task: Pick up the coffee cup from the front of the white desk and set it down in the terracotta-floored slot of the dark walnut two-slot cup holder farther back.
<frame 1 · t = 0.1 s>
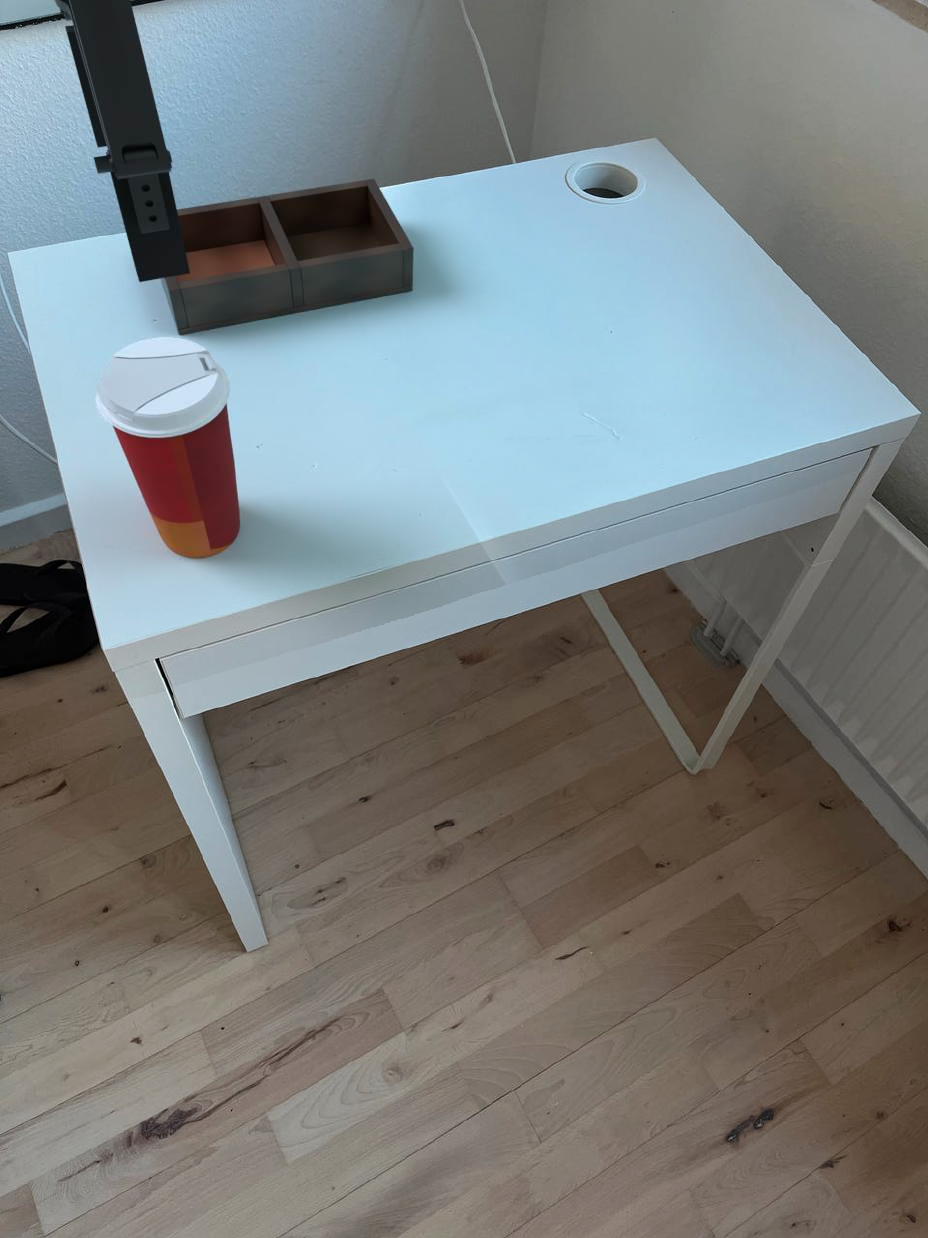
hand: (140, 203, 54), 24 cm above the table, tool pointing down, fingers open, 13 cm apart
cup holder: (283, 274, 89), on the table
coffee cup: (200, 529, 71), on the table
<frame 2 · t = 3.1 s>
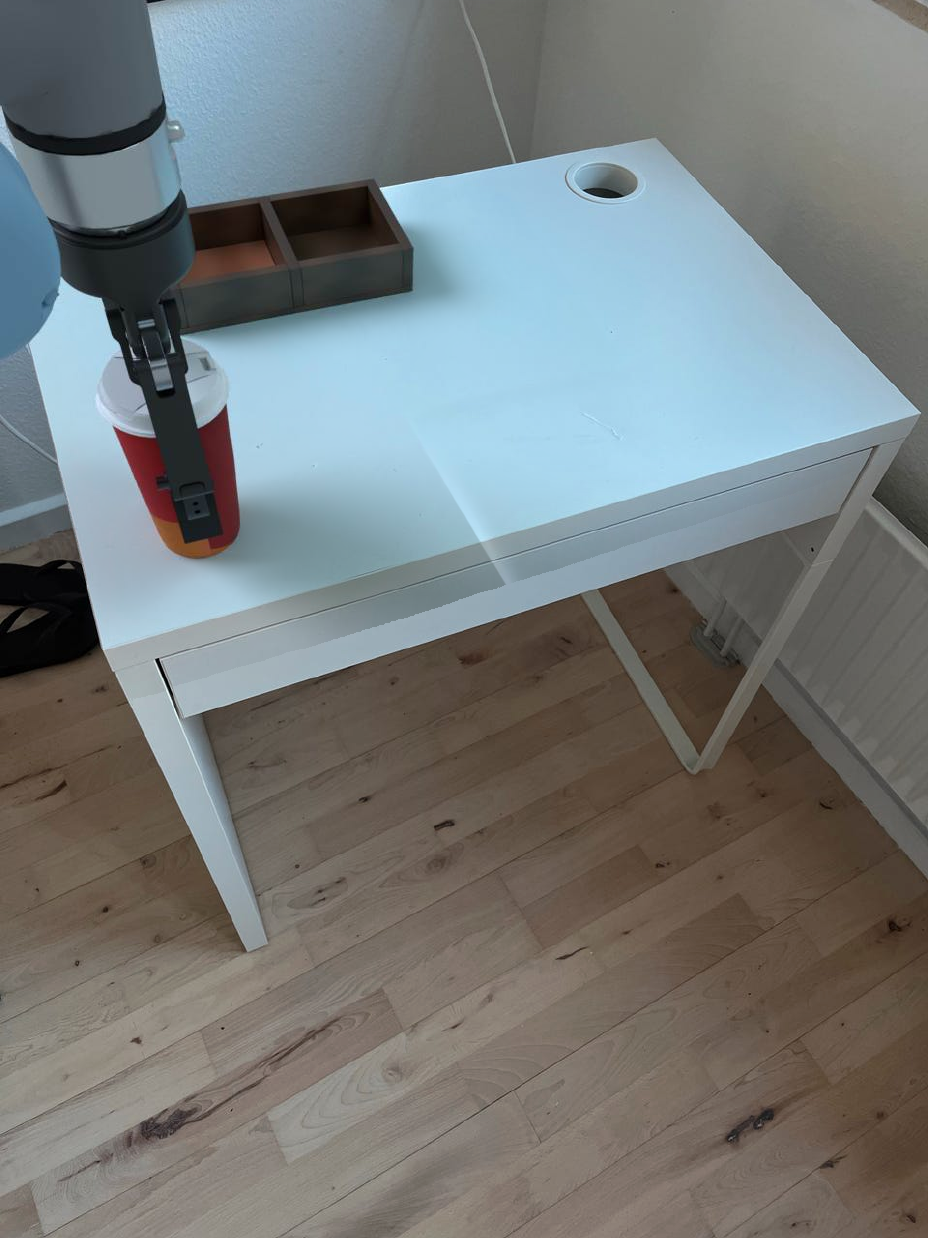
hand: (189, 489, 68), 4 cm above the table, tool pointing down, fingers closed on coffee cup, 8 cm apart
coffee cup: (200, 529, 71), on the table, touching gripper
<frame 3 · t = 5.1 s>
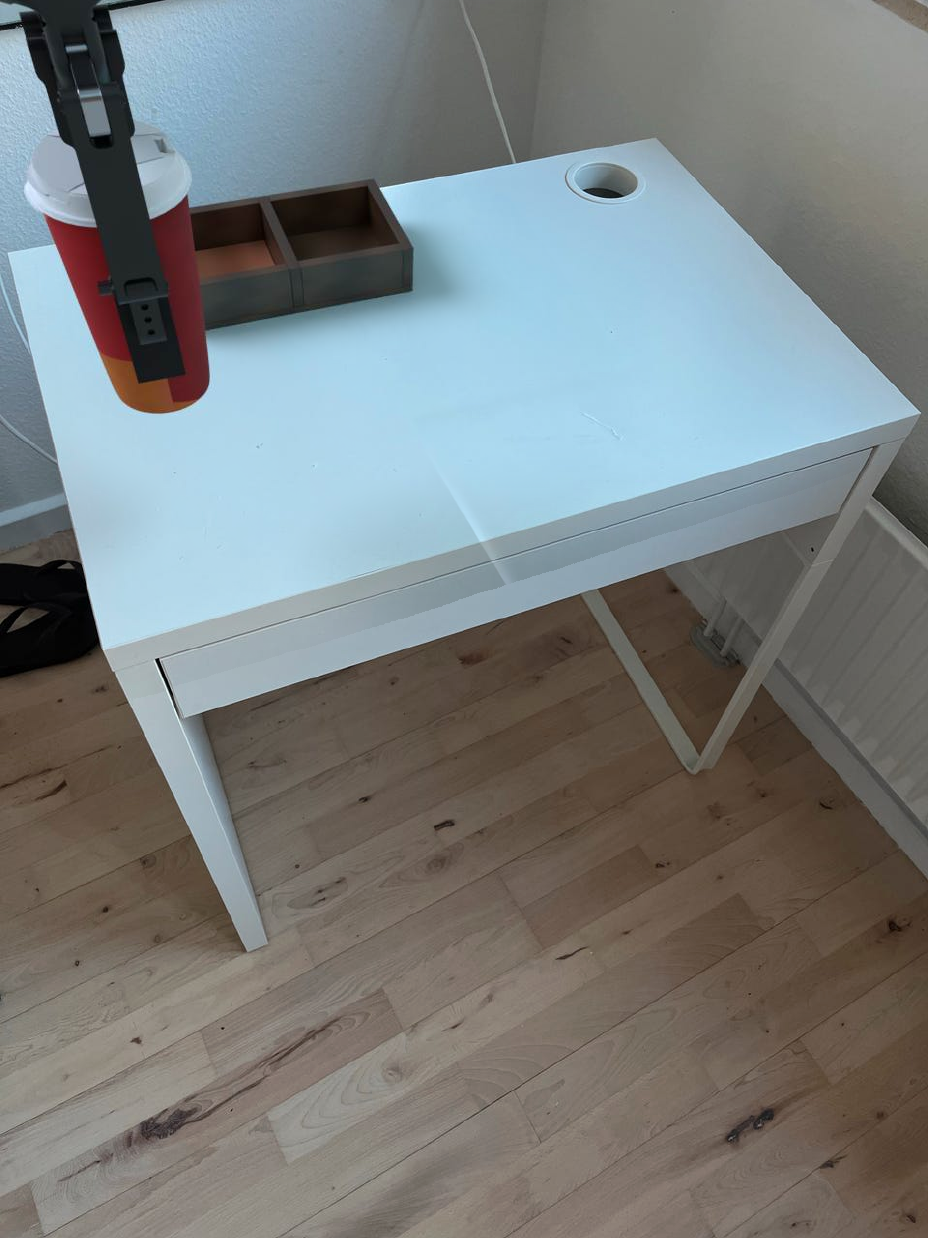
hand: (147, 326, 56), 18 cm above the table, tool pointing down, fingers closed on coffee cup, 8 cm apart
coffee cup: (162, 384, 60), point 14 cm above the table, touching gripper
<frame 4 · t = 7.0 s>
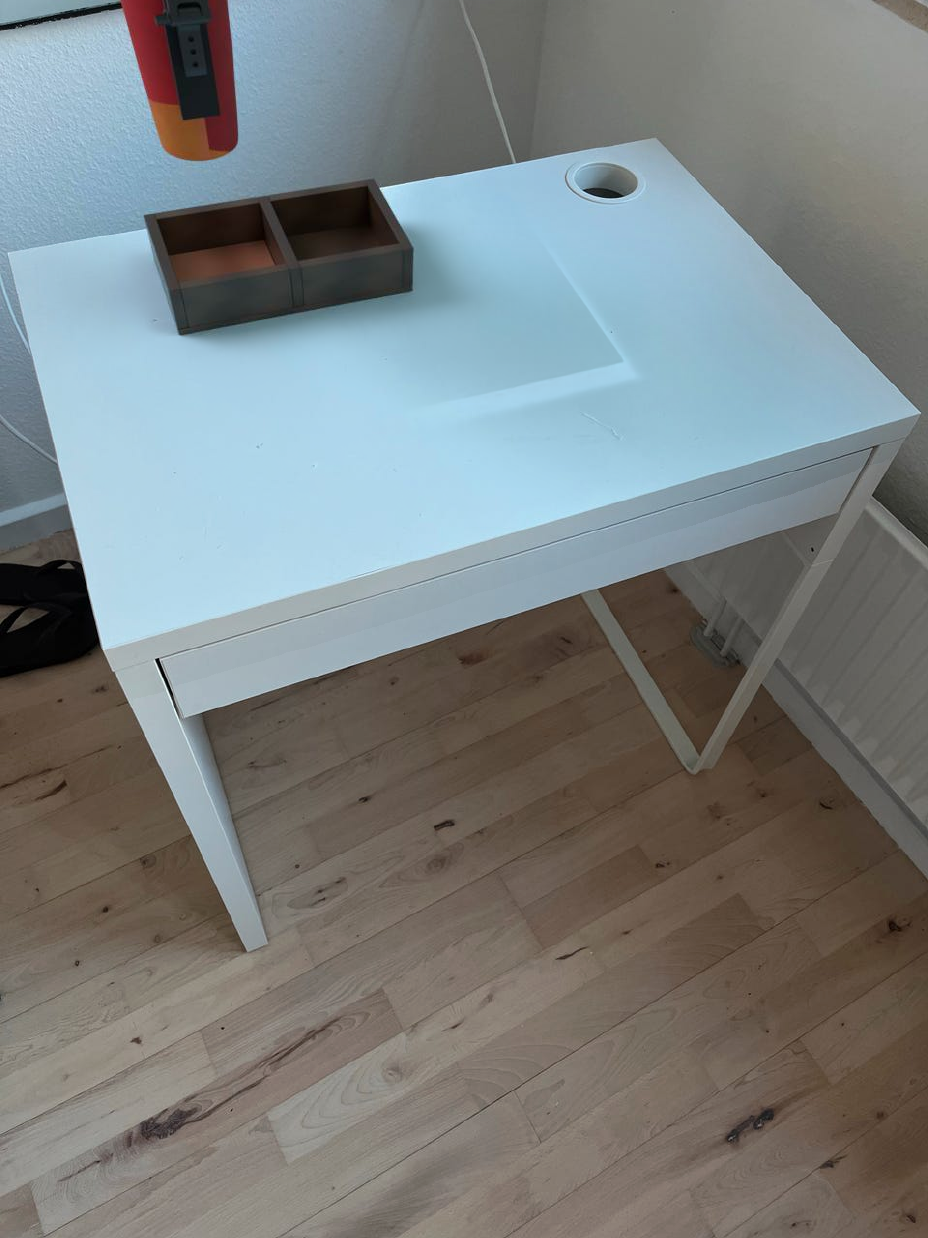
hand: (188, 83, 70), 20 cm above the table, tool pointing down, fingers closed on coffee cup, 8 cm apart
coffee cup: (199, 142, 73), point 15 cm above the table, touching gripper
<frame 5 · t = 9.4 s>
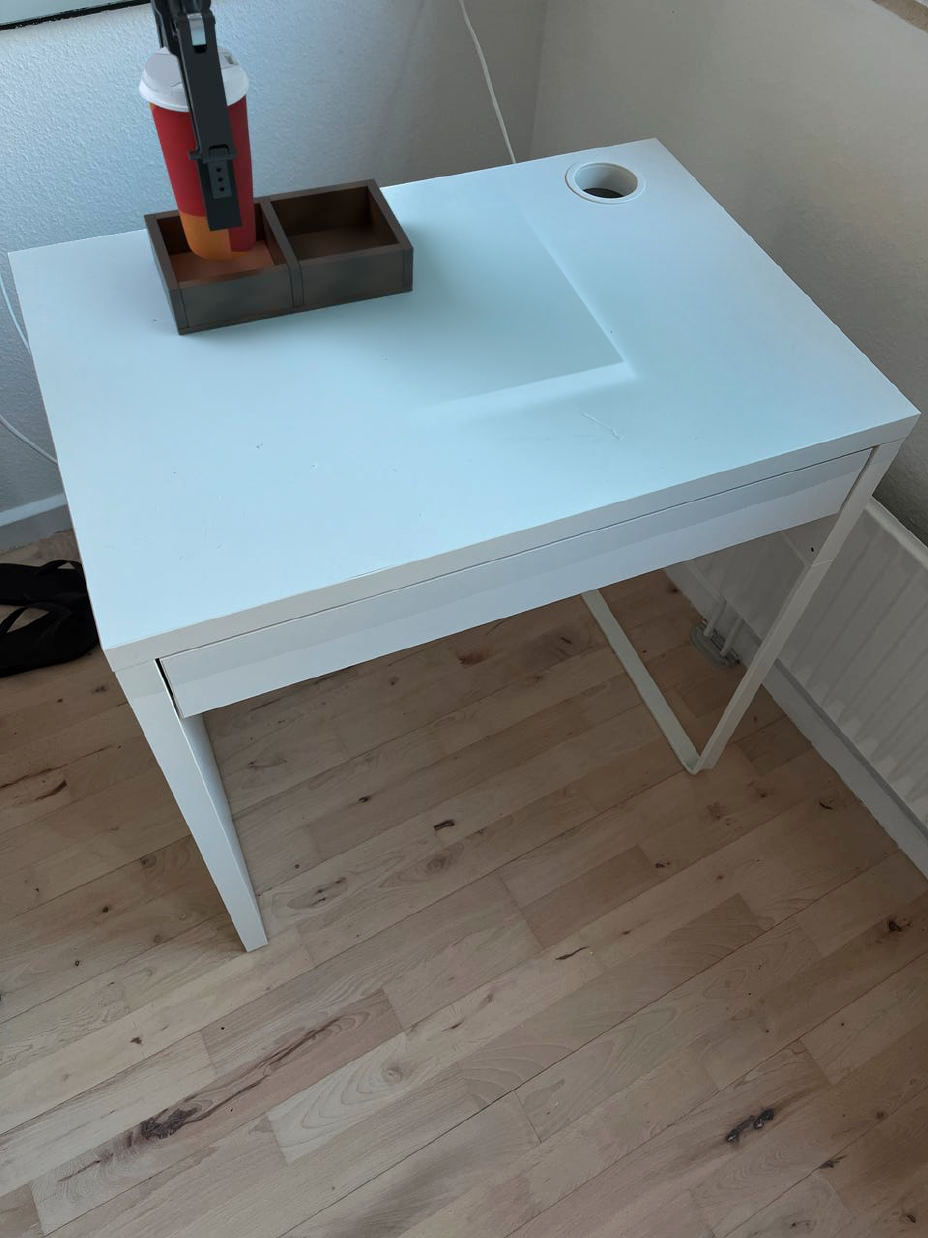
hand: (213, 196, 80), 9 cm above the table, tool pointing down, fingers closed on coffee cup, 8 cm apart
coffee cup: (221, 242, 84), point 4 cm above the table, touching gripper
when the fingers open (5 cm above the table, at t = 10.9 s): coffee cup stays where it is, resting on cup holder.
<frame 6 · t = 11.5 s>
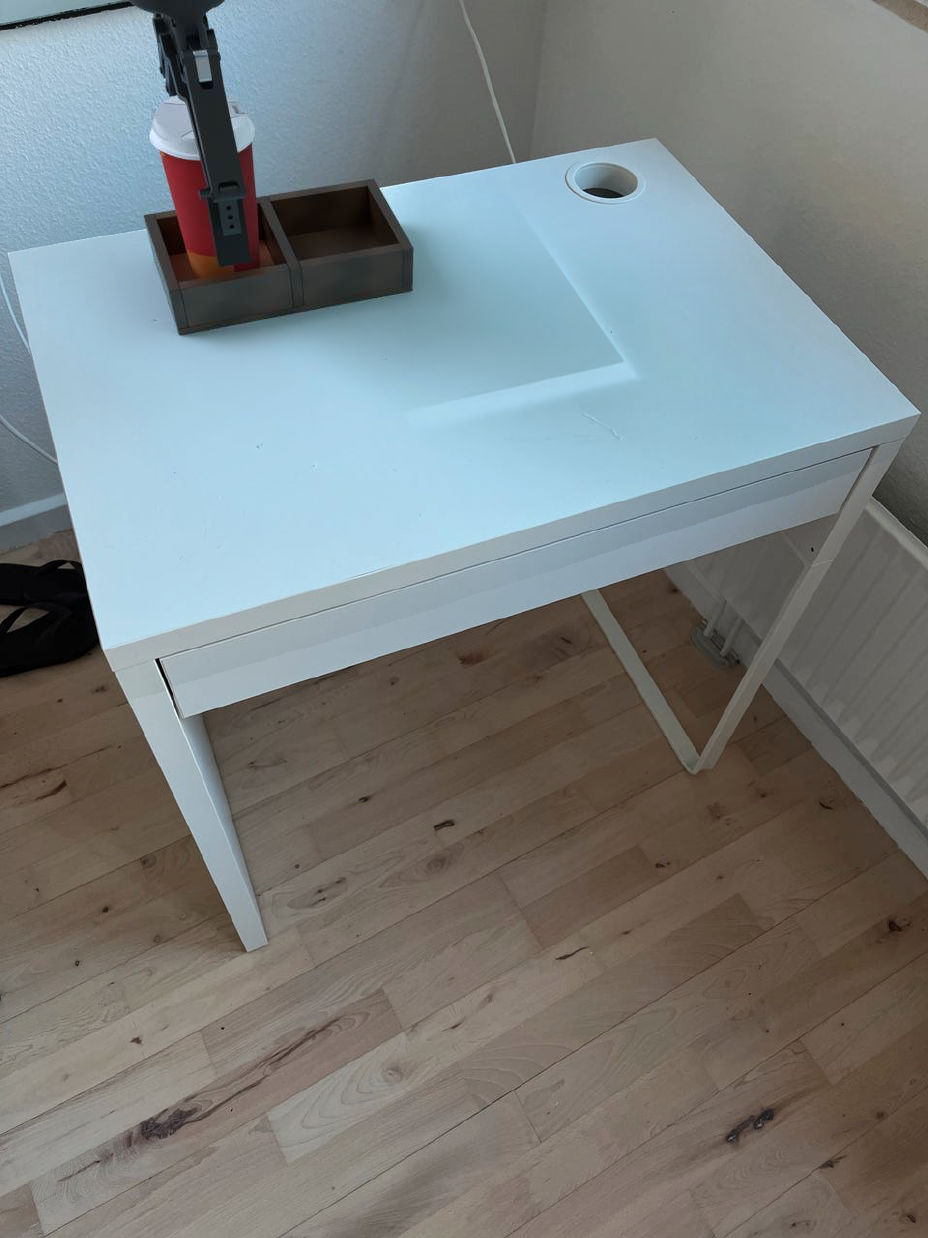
hand: (216, 216, 82), 7 cm above the table, tool pointing down, fingers open, 13 cm apart
coffee cup: (227, 278, 87), point 1 cm above the table, touching cup holder
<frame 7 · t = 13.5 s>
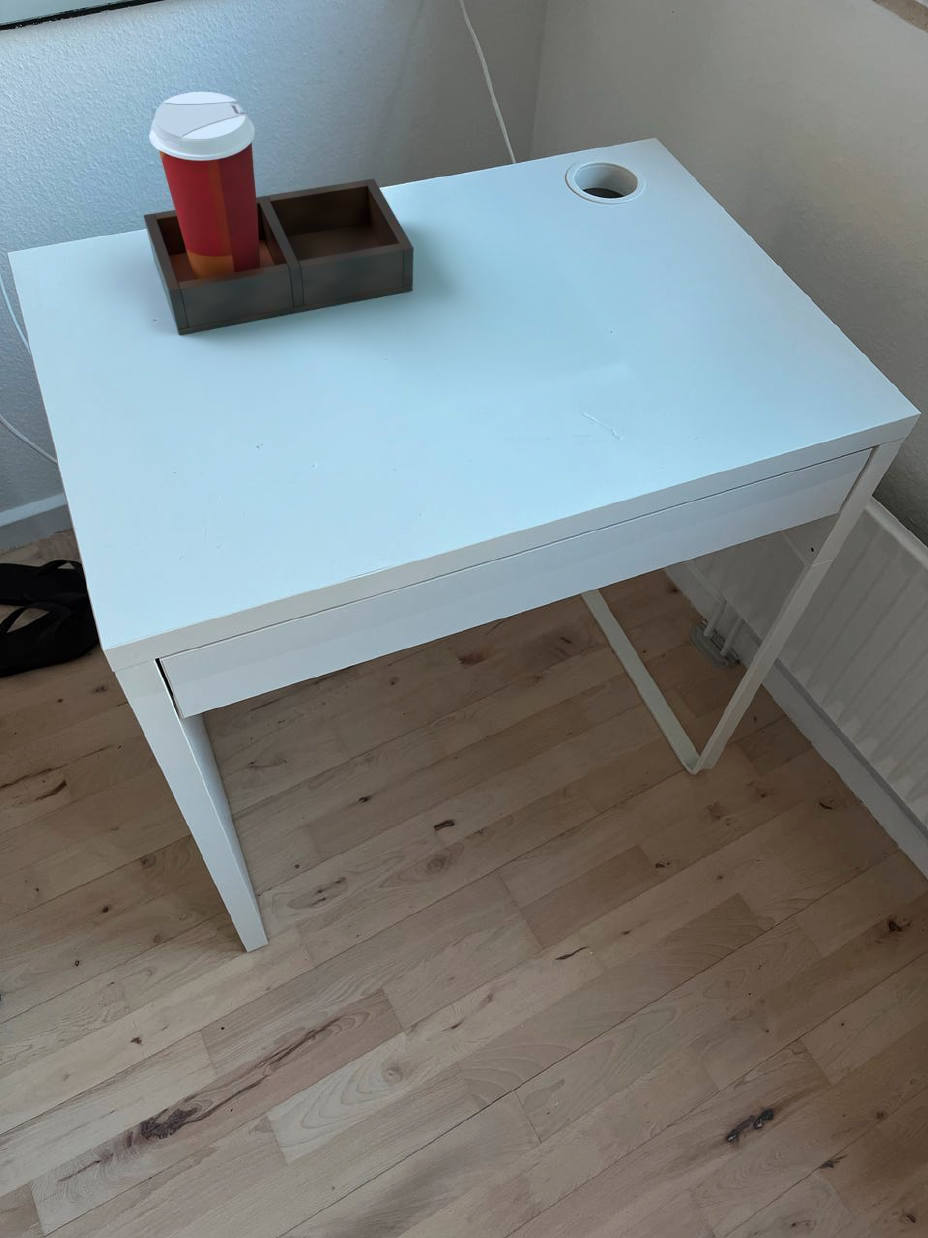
nothing on the table moved.
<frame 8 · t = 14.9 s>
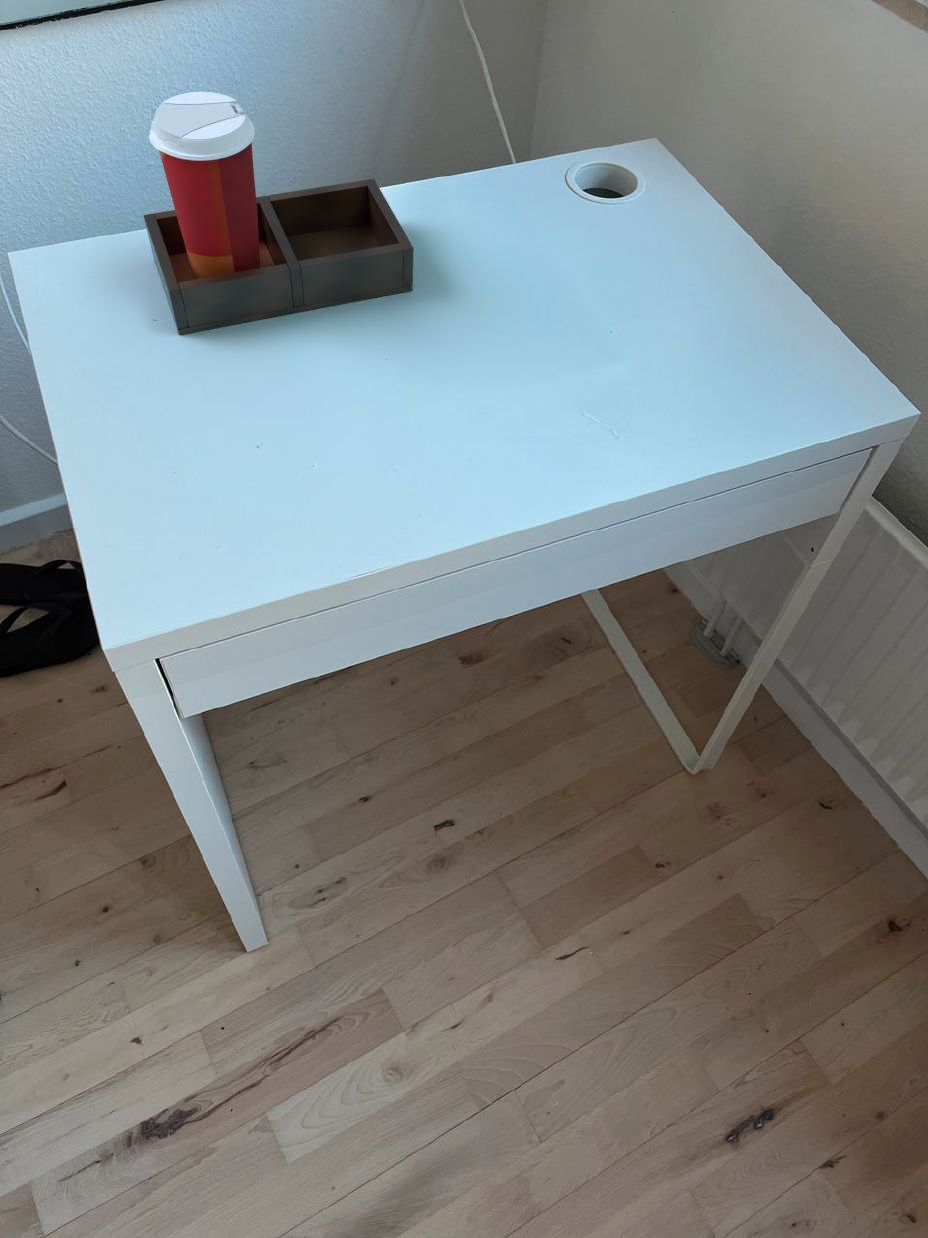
nothing on the table moved.
at the end: coffee cup 0.0 cm from the target spot in the cup holder, point 0.6 cm above the cup holder's base; coffee cup tilted 0°; the gripper is holding nothing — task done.
